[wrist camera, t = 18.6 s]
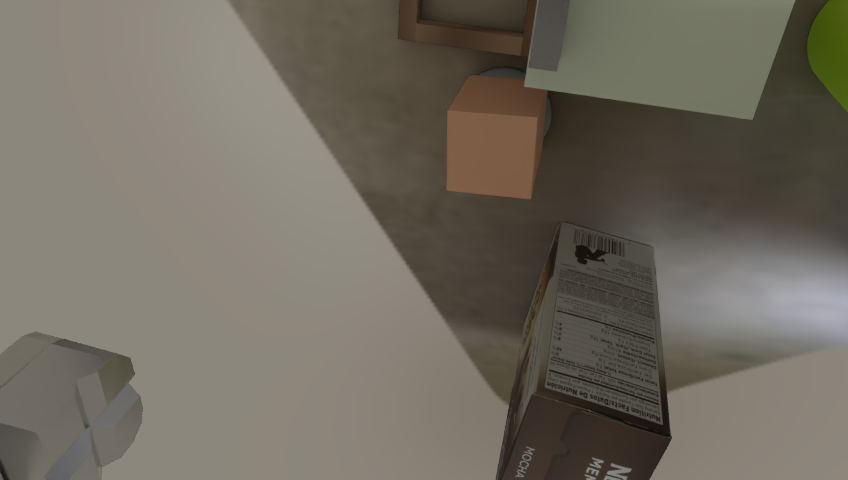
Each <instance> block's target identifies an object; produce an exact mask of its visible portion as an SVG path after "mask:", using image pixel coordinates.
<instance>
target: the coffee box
mask: <svg viewBox="0 0 848 480" xmlns="http://www.w3.org/2000/svg"><path fill="white" fill-rule="evenodd" d="M671 439H672V436H671V433H670V424H669V413H668V402H667V390H666V379H665V369H664V358H663V347H662V337H661V327H660V314H659V303H658V292H657V280H656V268H655V258H654V249H653V248H652V247H650V246H646V245H643V244H639V243H636V242H632V241H629V240H625V239H622V238H618V237H615V236H611V235H608V234H604V233H601V232H597V231H594V230H590V229H586V228H583V227H580V226H576V225H573V224H569V223H566V222H561V223H559V224H558V226H557V229H556V232H555V234H554V237H553V240H552V243H551V246H550V249H549V252H548V255H547V258H546V261H545V264H544V267H543V270H542V273H541V276H540V279H539V282H538V285H537V288H536V291H535V294H534V297H533V300H532V303H531V306H530V309H529V312H528V315H527V317H526V320H525V323H524V327H523V333H522V338H521V345H520V350H519V355H518V361H517V366H516V371H515V376H514V382H513V388H512V393H511V399H510V404H509V409H508V415H507V421H506V426H505V431H504V438H503V442H502V448H501V454H500V459H499V464H498V470H497V476H496V480H649V479H650V477H651V476H652V474H653V472H654V470H655V468H656V466H657V465H658V463H659V461H660V459H661V458H662V456H663V454H664V452H665V450H666V449H667V447H668V445H669V443H670V441H671Z"/></svg>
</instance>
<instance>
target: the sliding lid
mask: <svg viewBox="0 0 848 480" xmlns="http://www.w3.org/2000/svg"><path fill="white" fill-rule="evenodd" d="M794 3H795V0H537V5H536V11H535V18H534V24H533V31H532V37H531V44H530V50H529V57H528V63H527V70H526V76H525V83H524V87H531V88H537V89H544V90H551V91H558V92H565V93H571V94H578V95H585V96H592V97H599V98H605V99H612V100H619V101H626V102H633V103H640V104H646V105H653V106H660V107H667V108H674V109H680V110H687V111H694V112H701V113H708V114H714V115H721V116H728V117H735V118H742V119H749V120H753V117H754V114H755V111H756V109H757V106H758V103H759V100H760V97H761V95H762V92H763V89H764V86H765V83H766V81H767V78H768V75H769V72H770V70H771V67H772V64H773V61H774V58H775V56H776V53H777V50H778V47H779V44H780V42H781V39H782V36H783V33H784V31H785V28H786V25H787V22H788V19H789V17H790V14H791V11H792V8H793V6H794Z"/></svg>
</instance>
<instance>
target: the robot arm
mask: <svg viewBox="0 0 848 480" xmlns="http://www.w3.org/2000/svg"><path fill="white" fill-rule="evenodd" d="M134 375H135V372H134V369H133V365H132V362H131V359H130V358H129V357H126V356H123V355H120V354H117V353H113V352H109V351H106V350H102V349H99V348H95V347H91V346H88V345H84V344H81V343H77V342H73V341H69V340H66V339H61V338H58V337H54V336H50V335H46V334H42V333H39V332H33V333H30V334H27V335H24V336H22V337H21V338H19V339H18V340H17V341H16V342H14V343H13V344H12V345H11V346H10V347H8V348H7V349H6V350H5V351H4V352H2V353H1V354H0V480H101V478H102V467H103V466H105V465H107V464H109V463H111V462H113V461H115V460H117V459H119V458H121V457H122V456H123V455H124V453H125V452H126V451H127V449H128V448H129V447H130V445H131V444H132V443H133V441H134V439H135V437H136V434H137V432H138V430H139V427H140V425H141V423H142V411H143V407H142V402H141V397H140V395H139V394H138V393H137V392H136V391H135V390H134V388H133V387H132V386H131V385H130V384H129V381H130V380H131V379H132V378H133V376H134Z"/></svg>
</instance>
